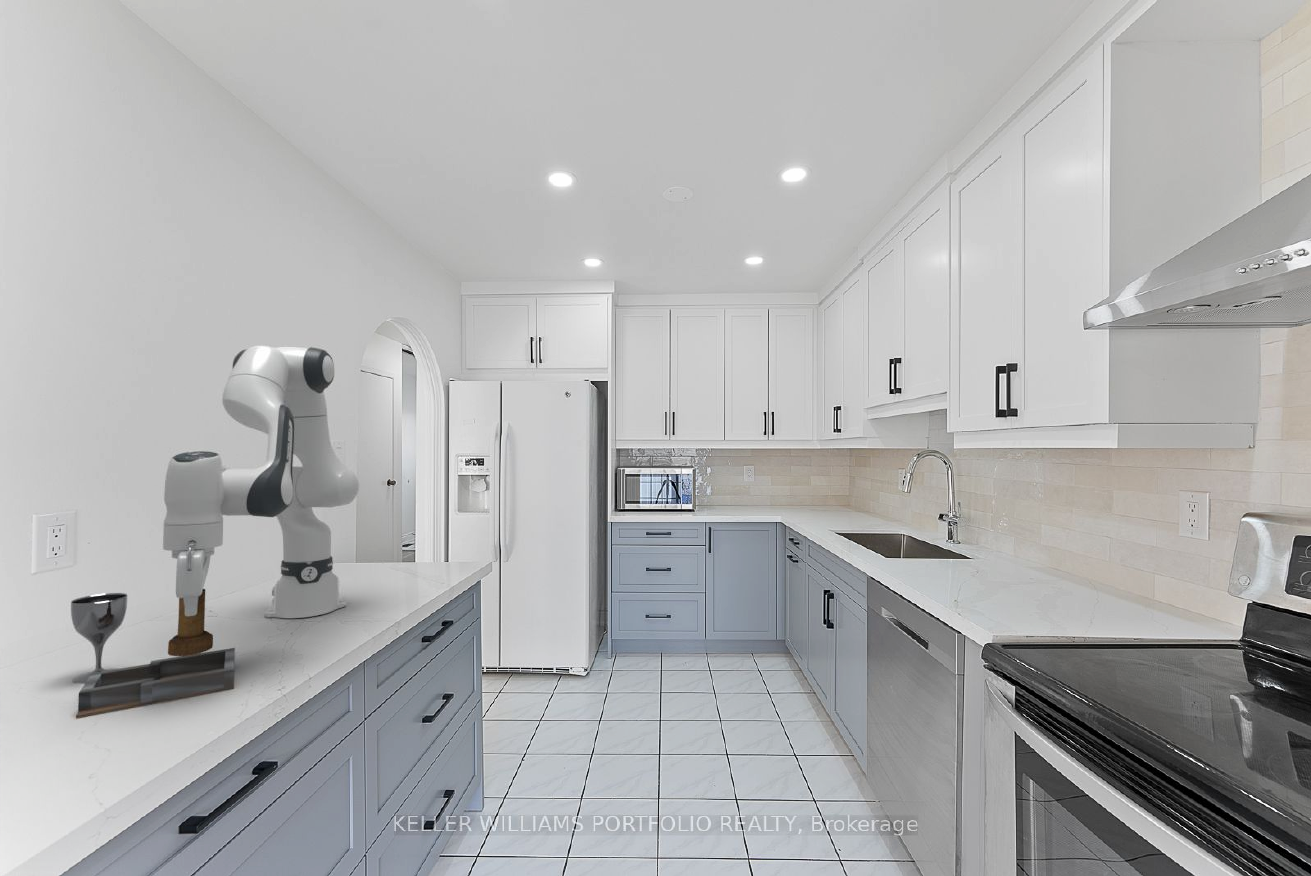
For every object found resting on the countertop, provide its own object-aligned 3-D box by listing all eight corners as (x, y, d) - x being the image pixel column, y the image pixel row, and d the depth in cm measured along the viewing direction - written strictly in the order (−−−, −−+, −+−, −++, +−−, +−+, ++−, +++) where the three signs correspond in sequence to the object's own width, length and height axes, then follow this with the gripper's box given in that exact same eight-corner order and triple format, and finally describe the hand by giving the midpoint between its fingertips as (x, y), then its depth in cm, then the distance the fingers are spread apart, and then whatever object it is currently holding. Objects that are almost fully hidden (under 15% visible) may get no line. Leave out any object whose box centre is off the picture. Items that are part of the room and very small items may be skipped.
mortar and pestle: (187, 657, 106) (190, 557, 106) (158, 655, 107) (161, 556, 108) (221, 645, 112) (223, 551, 113) (193, 643, 114) (196, 550, 114)
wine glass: (59, 686, 108) (61, 605, 108) (82, 671, 116) (84, 595, 116) (114, 680, 111) (116, 601, 111) (133, 665, 119) (134, 591, 119)
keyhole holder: (93, 689, 107) (93, 670, 107) (234, 664, 119) (234, 647, 119) (75, 718, 96) (76, 697, 96) (233, 688, 108) (234, 669, 108)
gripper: (212, 543, 104) (210, 622, 103) (216, 530, 120) (215, 598, 120) (166, 547, 100) (164, 628, 100) (177, 532, 117) (175, 602, 116)
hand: (192, 611), depth 110 cm, fingers closed on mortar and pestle, 4 cm apart
